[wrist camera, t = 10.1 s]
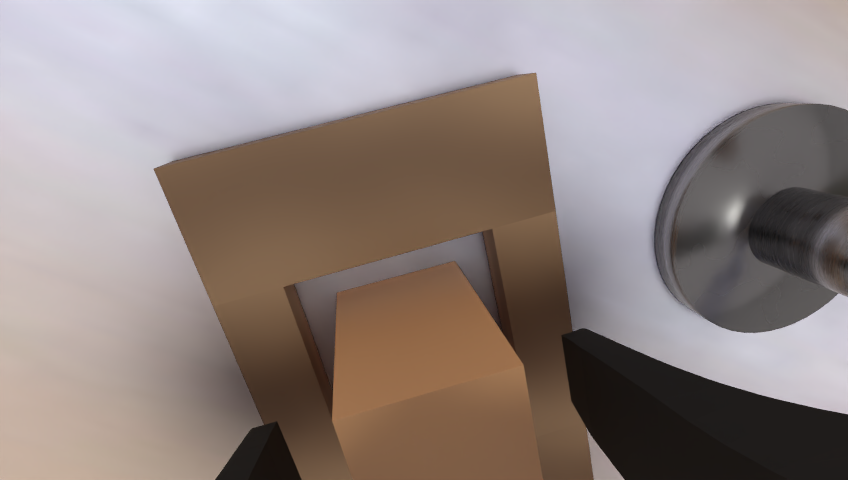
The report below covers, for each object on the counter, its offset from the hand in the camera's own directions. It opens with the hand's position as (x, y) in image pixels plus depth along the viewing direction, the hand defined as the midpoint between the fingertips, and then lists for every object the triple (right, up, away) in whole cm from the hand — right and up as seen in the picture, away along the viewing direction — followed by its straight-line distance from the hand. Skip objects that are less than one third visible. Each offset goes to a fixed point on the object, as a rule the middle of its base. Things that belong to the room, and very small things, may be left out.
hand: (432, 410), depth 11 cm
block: (-1, +1, +3) cm, 3 cm away
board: (0, +1, +3) cm, 3 cm away
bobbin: (+10, +5, +3) cm, 12 cm away
